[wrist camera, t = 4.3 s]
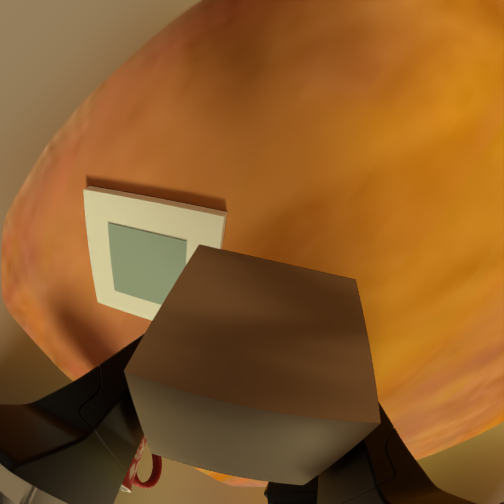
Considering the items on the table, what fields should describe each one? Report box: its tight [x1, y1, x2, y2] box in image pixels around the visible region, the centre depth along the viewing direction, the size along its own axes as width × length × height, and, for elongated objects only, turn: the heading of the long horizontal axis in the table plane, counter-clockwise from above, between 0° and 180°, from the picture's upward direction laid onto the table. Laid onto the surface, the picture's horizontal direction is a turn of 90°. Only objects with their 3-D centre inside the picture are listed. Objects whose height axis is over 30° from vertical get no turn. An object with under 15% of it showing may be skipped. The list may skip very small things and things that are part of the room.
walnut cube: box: [124, 244, 381, 485], centre depth 8 cm, size 5×5×5 cm
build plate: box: [83, 186, 227, 321], centre depth 22 cm, size 11×11×1 cm
